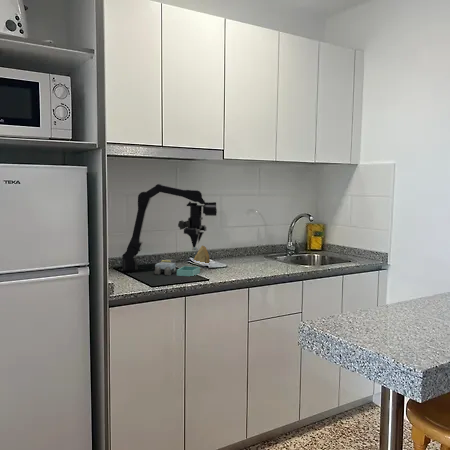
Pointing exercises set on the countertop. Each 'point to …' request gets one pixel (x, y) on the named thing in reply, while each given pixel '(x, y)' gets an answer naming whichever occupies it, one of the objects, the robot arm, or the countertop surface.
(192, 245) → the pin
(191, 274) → the tray
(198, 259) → the rock
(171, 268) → the trolley
